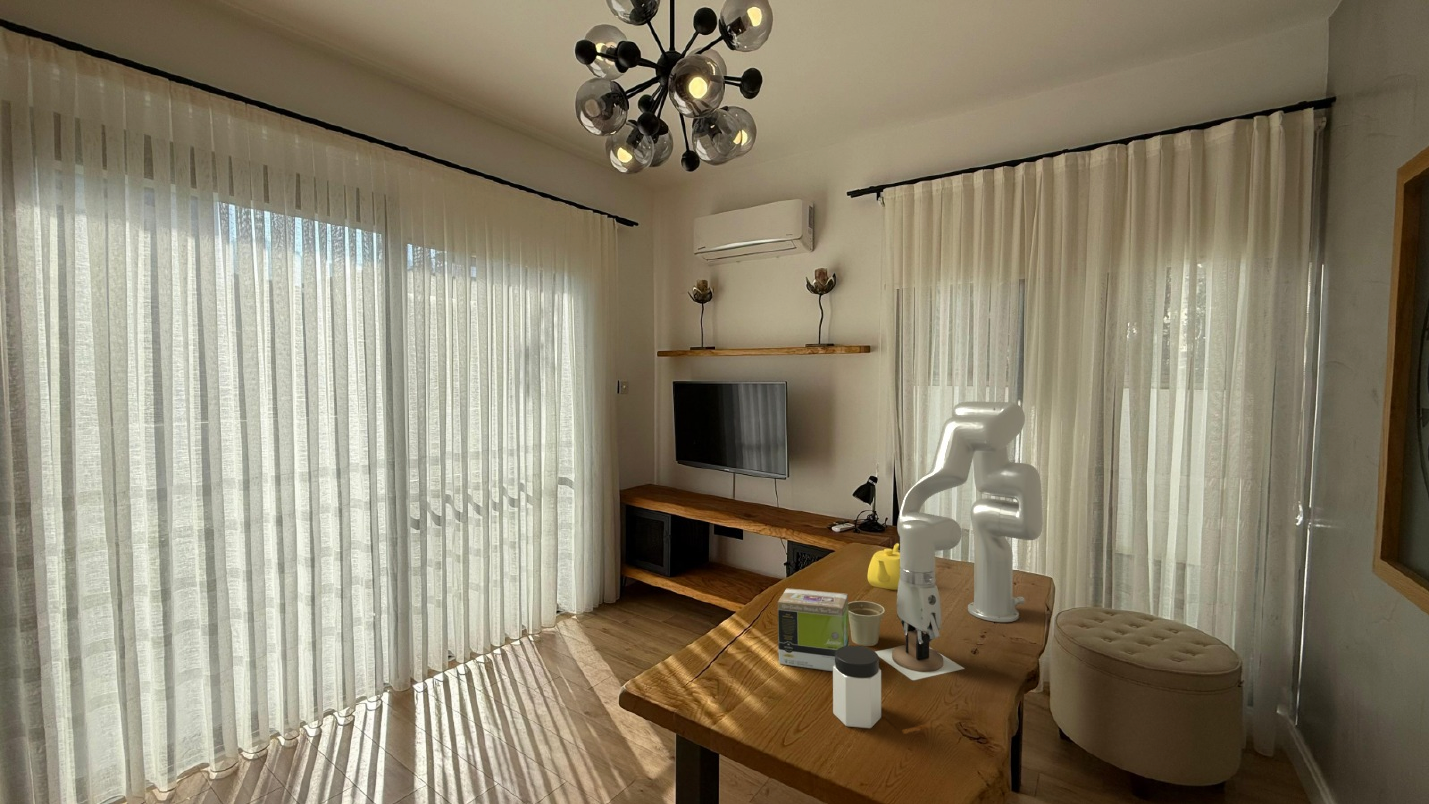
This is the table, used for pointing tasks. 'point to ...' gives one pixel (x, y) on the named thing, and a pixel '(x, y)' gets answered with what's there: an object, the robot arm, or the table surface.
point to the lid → (910, 659)
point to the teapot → (885, 569)
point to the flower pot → (865, 622)
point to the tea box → (812, 627)
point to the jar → (857, 686)
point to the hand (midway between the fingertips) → (917, 654)
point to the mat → (915, 675)
